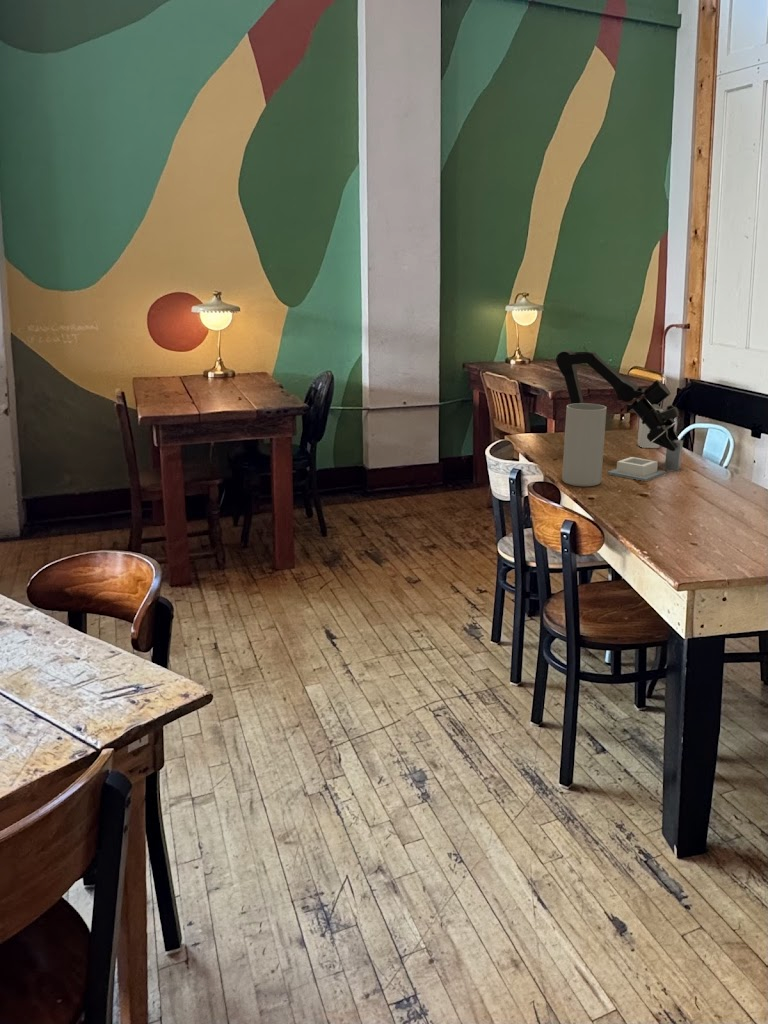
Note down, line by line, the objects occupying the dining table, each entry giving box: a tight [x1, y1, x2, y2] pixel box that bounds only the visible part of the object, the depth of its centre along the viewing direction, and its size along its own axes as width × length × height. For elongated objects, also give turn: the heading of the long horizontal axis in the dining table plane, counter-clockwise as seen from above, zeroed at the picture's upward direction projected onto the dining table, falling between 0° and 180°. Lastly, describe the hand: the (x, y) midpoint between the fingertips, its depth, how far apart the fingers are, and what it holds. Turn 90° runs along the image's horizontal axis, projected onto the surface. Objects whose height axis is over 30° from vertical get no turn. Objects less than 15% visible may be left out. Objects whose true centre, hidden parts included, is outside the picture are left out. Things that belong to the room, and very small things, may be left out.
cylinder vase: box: [561, 402, 608, 488], centre depth 286 cm, size 12×12×25 cm
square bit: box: [664, 439, 684, 472], centre depth 305 cm, size 4×4×10 cm
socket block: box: [607, 456, 667, 482], centre depth 299 cm, size 14×14×4 cm
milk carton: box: [636, 399, 664, 449], centre depth 338 cm, size 7×7×19 cm
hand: (677, 448), depth 304 cm, fingers open, 9 cm apart
